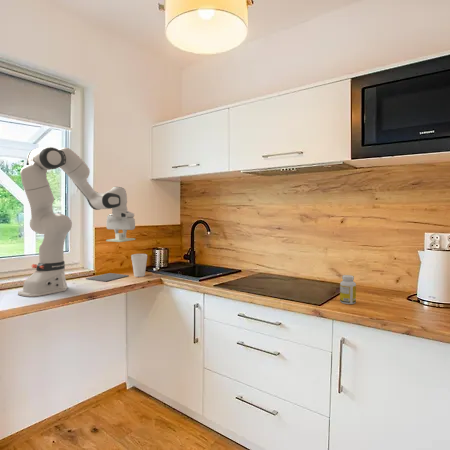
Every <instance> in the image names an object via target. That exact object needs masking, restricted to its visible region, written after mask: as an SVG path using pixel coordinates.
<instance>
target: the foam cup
mask: <svg viewBox="0 0 450 450" xmlns="http://www.w3.org/2000/svg"><path fill="white" fill-rule="evenodd" d="M130 257H131V258H130V259H131V263H132V271H133V276H134V277H136V278H141V277H145V276H146V269H147V261H148V254H146V253H134V254H131V255H130Z"/></svg>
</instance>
